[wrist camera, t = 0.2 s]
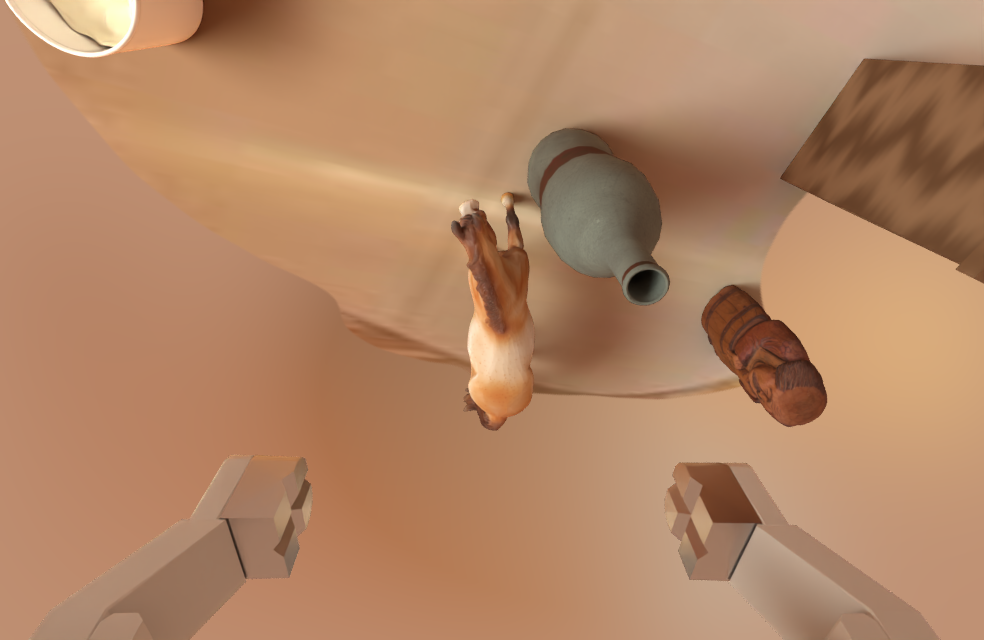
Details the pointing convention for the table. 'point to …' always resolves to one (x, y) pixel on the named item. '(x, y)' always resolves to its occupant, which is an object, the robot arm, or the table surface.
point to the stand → (905, 155)
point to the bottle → (598, 212)
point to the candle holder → (109, 23)
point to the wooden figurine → (764, 357)
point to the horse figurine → (497, 316)
